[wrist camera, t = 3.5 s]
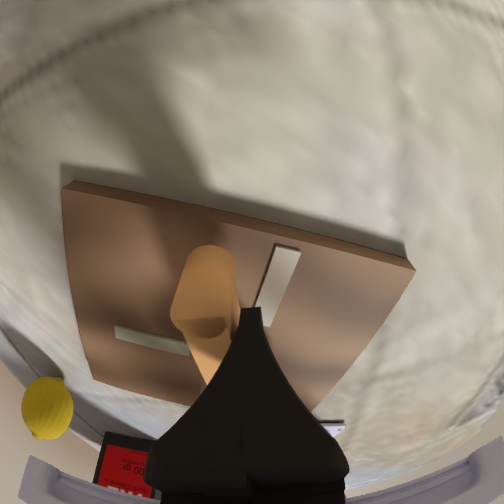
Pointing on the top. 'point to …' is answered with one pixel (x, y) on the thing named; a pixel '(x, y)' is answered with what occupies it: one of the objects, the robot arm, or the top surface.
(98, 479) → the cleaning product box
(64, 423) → the lemon
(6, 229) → the top surface
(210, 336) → the orange and grey bar
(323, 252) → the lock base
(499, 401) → the top surface
